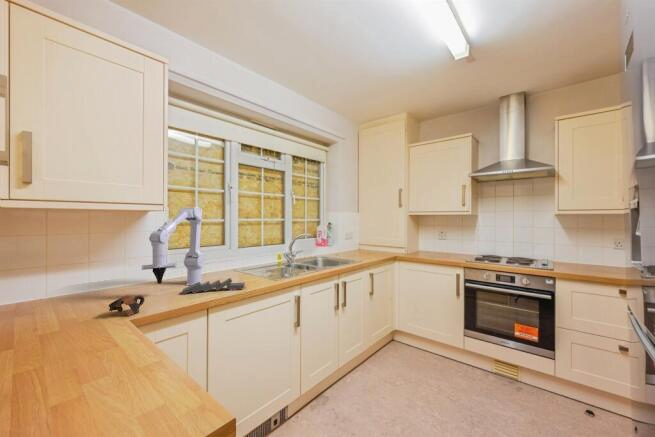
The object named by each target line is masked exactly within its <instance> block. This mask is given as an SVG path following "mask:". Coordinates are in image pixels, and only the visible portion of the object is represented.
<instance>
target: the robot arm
mask: <svg viewBox="0 0 655 437" xmlns="http://www.w3.org/2000/svg"><path fill="white" fill-rule="evenodd" d="M202 219H203V210H202V208H201V207H199V206H182V207H181V208H180V209H179V210H178V213H177V214H176V215H175V216H174V217H173V218H172V219H171V221H165V222H164V224H163V225H162V226H160V227H158V229H157V230H155V231H152V233H150V235H149V237H148V239H149V242H150V244H151V247H152V248H151V249H152V264H143V265H141V270H142V271H144V270H152V273H153V274H154V276H155V278H156V282H157V284H158V285H161V284H162V283H163V278H164V274H165V272H166V270H167V269H176V268H178V267H177V263H167V242H169V239H170V237H171V235H172V234H173V233H174V232H175V231H176V230H177V226H178V225H180V223H182V222H183V221H184V220H185V221H187V222H189V223H190V233H189V234H190V237H189V248H188V249H189V250H188V252H187V253H185V257H184V259H183V266H185V269H187V270H186V271H187V274H186V275H187V282H186V284H185V285H186V286H191V285H193V284H195V283H198V282H200V283H201V284H203V279H202V268H203V266H204V265H205V263H206V262H205V257H204V256H205V254H204V253H202V252H201V234H202V221H203V220H202Z"/></svg>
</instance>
